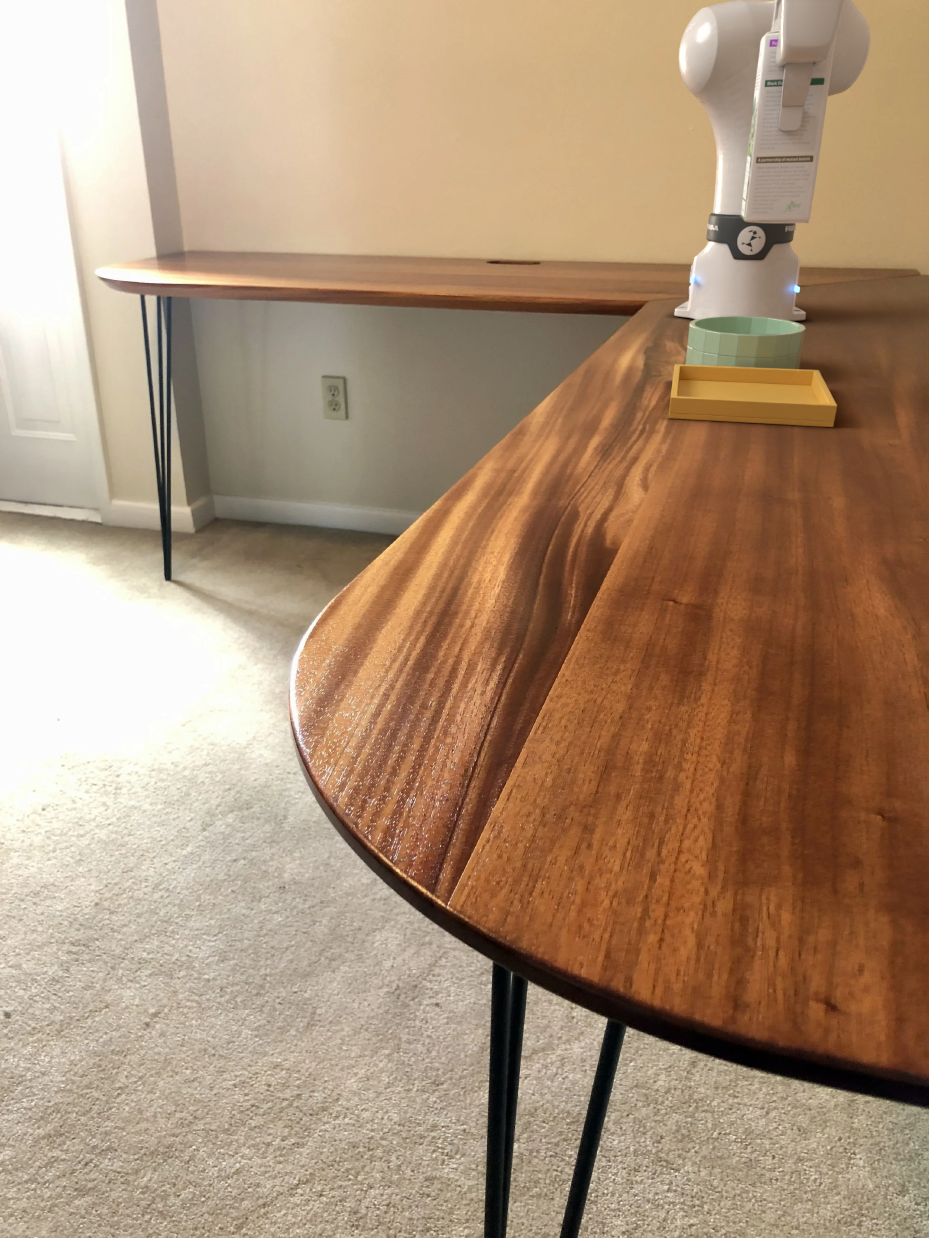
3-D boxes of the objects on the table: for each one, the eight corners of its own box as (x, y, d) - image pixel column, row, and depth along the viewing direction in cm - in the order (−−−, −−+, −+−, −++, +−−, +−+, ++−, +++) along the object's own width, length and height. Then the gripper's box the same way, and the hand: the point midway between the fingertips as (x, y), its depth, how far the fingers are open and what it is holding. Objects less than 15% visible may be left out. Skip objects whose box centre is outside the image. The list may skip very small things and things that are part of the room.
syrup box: (810, 223, 77) (842, 25, 71) (741, 223, 78) (765, 28, 72) (802, 219, 82) (831, 33, 76) (736, 218, 83) (759, 35, 77)
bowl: (685, 357, 108) (690, 314, 105) (792, 361, 105) (799, 317, 103) (683, 380, 97) (689, 333, 95) (802, 385, 94) (810, 337, 92)
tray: (672, 382, 96) (674, 364, 95) (815, 389, 93) (819, 370, 92) (668, 418, 83) (670, 397, 82) (833, 427, 80) (837, 405, 79)
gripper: (764, -41, 80) (742, 133, 87) (781, -93, 63) (753, 130, 69) (837, -44, 79) (810, 132, 85) (876, -99, 61) (838, 129, 68)
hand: (784, 131), depth 77 cm, fingers closed on syrup box, 6 cm apart
